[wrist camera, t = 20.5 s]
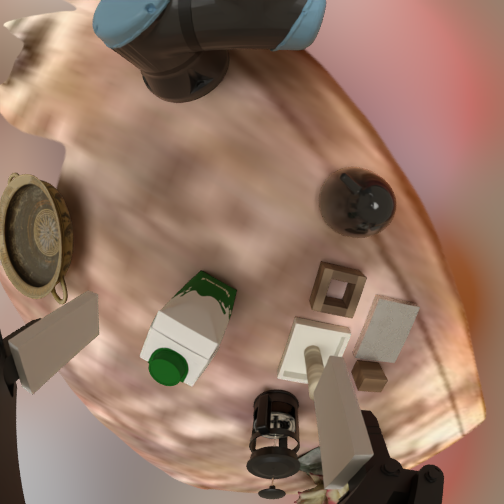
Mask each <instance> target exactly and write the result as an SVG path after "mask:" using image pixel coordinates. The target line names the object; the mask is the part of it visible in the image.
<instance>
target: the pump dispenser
mask: <svg viewBox="0 0 504 504" xmlns="http://www.w3.org/2000/svg"><path fill="white" fill-rule="evenodd" d="M319 206H320V211H321V214H322V217H323V219H324V220H325V222H326V223H327V225H328V226H329V227H330V228H331V229H333V230H334V231H335V232H337V233H339V234H341V235H343V236H347V237H352V238H365V237H370V236H373V235H376V234H378V233H380V232H381V231H383V230H384V229H385V228H386V227H387V226H388V225H389V224H390V223H391V221H392V220H393V218H394V215H395V212H396V198H395V195H394V192H393V190H392V188H391V187H390V185H389V184H388V183H387V182H386V181H385V180H384V179H383V178H382V177H380V176H379V175H377V174H376V173H374V172H372V171H370V170H367V169H364V168H360V167H346V168H342V169H340V170H337V171H336V172H334V173H333V174H331V175H330V176H329V177H328V178H327V179H326V181H325V182H324V184H323V186H322V188H321V191H320V196H319Z"/></svg>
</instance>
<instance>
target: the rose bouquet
mask: <svg viewBox="0 0 504 504" xmlns="http://www.w3.org/2000/svg"><path fill="white" fill-rule="evenodd" d="M298 460H299V462H300V470H301V471H304V472H307V473H306V474H307V475H310V476H311V478H313V480H314V483H315V484H316V485H318V486H316V487H315V488H312V489H308V490H305V491H303V492H298V494H299V495H300V496H299V499H298V500H297V501H295V502H294V503H297V504H337V502H338V501H339V500H338V499H340V498H341V497H342V496H343V495H344V494H345V493H346V492H347V491H348V490H349V487H348V483H347V484H346V485H345V486H344V487H343V488H342V489H324V481H323V470H322V461H321V452H320V447H317V448H316V449H314V450H312V451H310V452H309V453H307V454H306V455H304V456H303V457H301V458H299V459H298Z"/></svg>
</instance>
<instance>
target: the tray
mask: <svg viewBox="0 0 504 504" xmlns="http://www.w3.org/2000/svg"><path fill="white" fill-rule="evenodd" d="M350 336H351V332H350V330H349V328H348V327H343V326H338V325H333V324H327V323H322V322H317V321H312V320H308V319H303V318H298V317H295V319H294V323H293V326H292V329H291V332H290V335H289V338H288V341H287V344H286V347H285V350H284V353H283V356H282V359H281V362H280V365H279V368H278V370H277V378H278V379H283V380H289V381H294V382H300V383H307V384H308V380H307V373H306V365H305V358H304V350H305V349H306V348H307V347H308V346H311V345H315V346H317V347H319V349H320V352H321V356H322V360H323V365H324V368H325V366H326V363H327V361H328V359H329V356H330V355H331V356H337V357H342V355H343V353H344V350H345V348H346V346H347V343H348V341H349V339H350Z"/></svg>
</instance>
